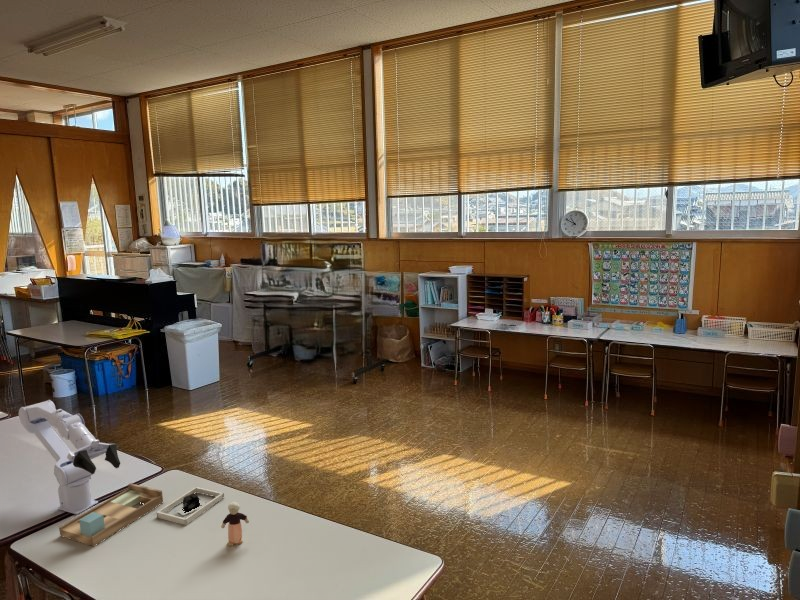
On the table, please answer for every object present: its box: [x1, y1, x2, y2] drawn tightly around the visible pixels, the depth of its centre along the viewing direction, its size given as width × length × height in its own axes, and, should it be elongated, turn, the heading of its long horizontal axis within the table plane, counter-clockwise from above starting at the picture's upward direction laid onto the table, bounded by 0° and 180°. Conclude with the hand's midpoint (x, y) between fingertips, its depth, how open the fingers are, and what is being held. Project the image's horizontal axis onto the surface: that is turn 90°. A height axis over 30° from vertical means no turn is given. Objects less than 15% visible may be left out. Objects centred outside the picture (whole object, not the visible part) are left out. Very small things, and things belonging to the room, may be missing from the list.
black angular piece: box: [182, 493, 202, 513], centre depth 180 cm, size 12×7×5 cm, turn 140°
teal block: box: [79, 512, 105, 536], centre depth 164 cm, size 4×4×4 cm
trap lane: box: [58, 482, 164, 547], centre depth 174 cm, size 15×26×4 cm, turn 157°
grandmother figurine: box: [220, 501, 250, 547], centre depth 159 cm, size 8×4×13 cm, turn 118°
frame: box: [155, 486, 225, 526], centre depth 180 cm, size 12×17×2 cm
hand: (106, 468), depth 167 cm, fingers open, 7 cm apart
